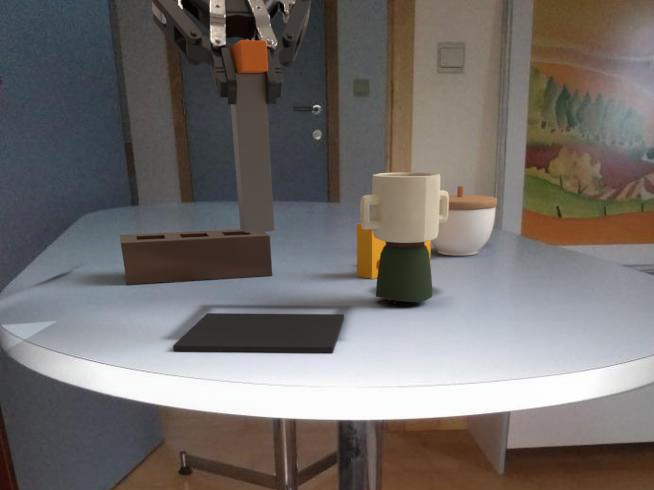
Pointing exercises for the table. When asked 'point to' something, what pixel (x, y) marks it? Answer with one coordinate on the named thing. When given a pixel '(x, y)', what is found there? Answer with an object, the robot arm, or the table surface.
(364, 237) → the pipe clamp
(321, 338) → the mat
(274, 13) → the robot arm
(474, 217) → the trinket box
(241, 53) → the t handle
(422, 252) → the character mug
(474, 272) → the table surface
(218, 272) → the organizer
